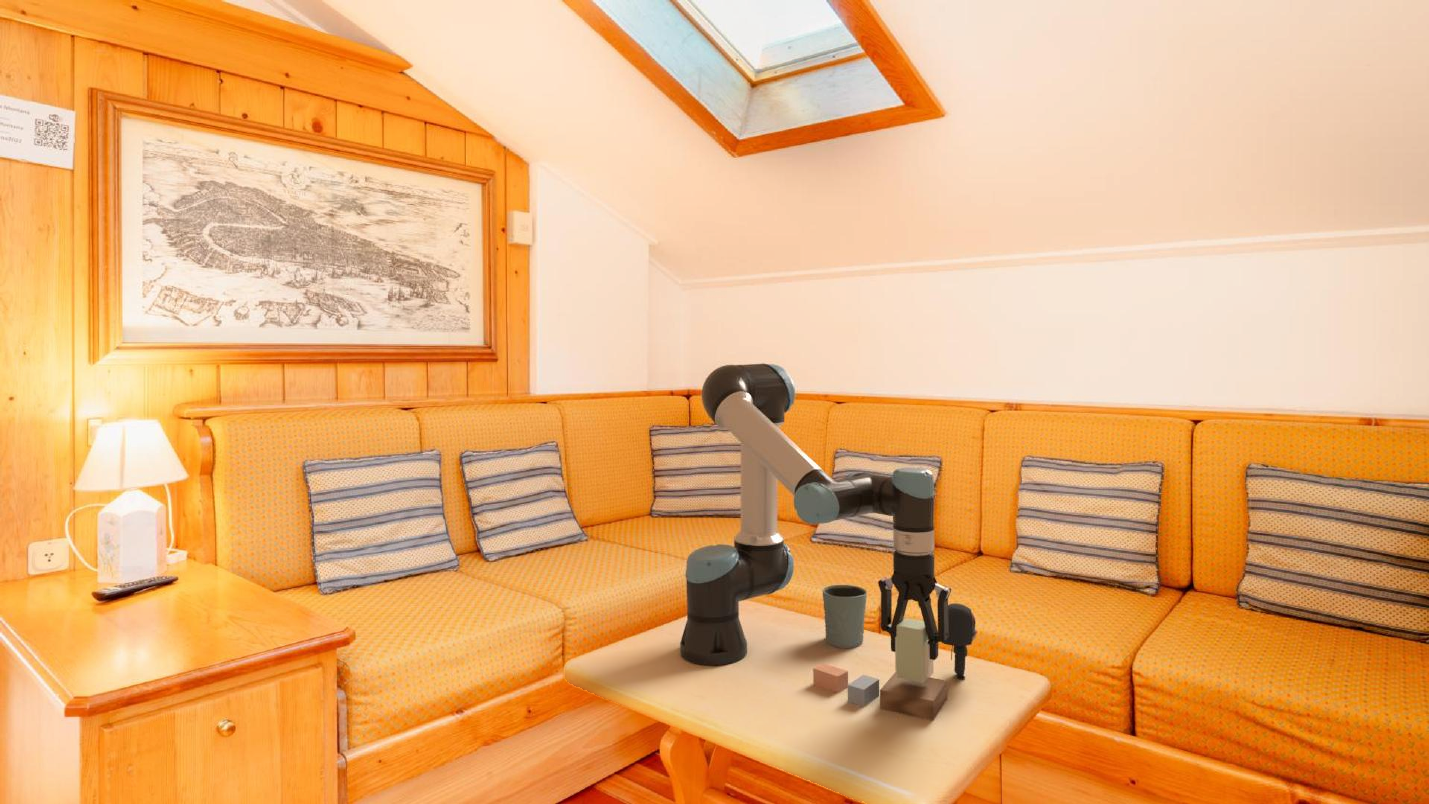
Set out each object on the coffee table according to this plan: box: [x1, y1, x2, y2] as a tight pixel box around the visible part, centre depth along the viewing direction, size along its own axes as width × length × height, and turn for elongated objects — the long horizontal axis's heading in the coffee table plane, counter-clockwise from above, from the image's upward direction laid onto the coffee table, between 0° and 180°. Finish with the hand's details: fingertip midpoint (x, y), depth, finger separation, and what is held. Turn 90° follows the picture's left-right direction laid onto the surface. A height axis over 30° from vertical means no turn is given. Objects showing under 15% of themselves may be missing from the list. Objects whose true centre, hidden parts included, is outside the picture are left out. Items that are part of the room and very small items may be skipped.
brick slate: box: [847, 674, 880, 708], centre depth 151 cm, size 6×4×4 cm, turn 140°
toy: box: [941, 603, 978, 680], centre depth 160 cm, size 9×8×15 cm
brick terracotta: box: [812, 662, 849, 694], centre depth 157 cm, size 6×4×4 cm, turn 46°
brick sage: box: [897, 617, 928, 683], centre depth 148 cm, size 5×5×10 cm
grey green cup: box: [821, 584, 868, 649], centre depth 181 cm, size 10×10×12 cm
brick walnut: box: [879, 671, 948, 721], centre depth 148 cm, size 10×10×4 cm
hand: (914, 671), depth 148 cm, fingers closed on brick sage, 5 cm apart
